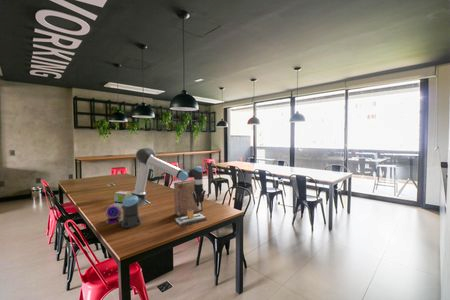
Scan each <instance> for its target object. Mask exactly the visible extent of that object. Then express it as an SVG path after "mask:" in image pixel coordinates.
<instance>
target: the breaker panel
mask: <svg viewBox="0 0 450 300" xmlns="http://www.w3.org/2000/svg"><path fill="white" fill-rule="evenodd" d="M198 213H199V212H198ZM193 216H194V218H190V219H189V218H188V217H187V216H185V217H181V218H176V220H175V221H176V223H178V225H180V226H181V223H186V222H190V221H194V220H198V219H202V218H206V216H204V215H203V214H201V213H199V214H194V215H193Z"/></svg>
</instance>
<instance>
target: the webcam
mask: <svg viewBox="0 0 450 300" xmlns="http://www.w3.org/2000/svg"><path fill="white" fill-rule="evenodd" d="M121 215H123V207H121V206H120V205H118V204H114V203H112V204H109V206H107V208H106V209H105V216H106V217H107V219H106V220H105V223H106V224H115V223H120V222H122V220H123V216H121Z"/></svg>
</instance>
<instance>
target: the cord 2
mask: <svg viewBox="0 0 450 300" xmlns="http://www.w3.org/2000/svg"><path fill="white" fill-rule="evenodd" d="M204 221H207V217H205V218H202V219H198V220H194V221H190V222H186V223H181V225H180V226H181V227H184V226H187V225H192V224H196V223H200V222H204Z"/></svg>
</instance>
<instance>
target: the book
mask: <svg viewBox="0 0 450 300" xmlns="http://www.w3.org/2000/svg"><path fill="white" fill-rule="evenodd" d="M173 189H174V190H173V194H174V195H173V196H174V214H175V215H176V216H177V217H180V216H184V215H187V210H189V209H192V210H193V213H199V212H202V211H203V204H202V205H201V210H198V206H197V203H196V202H195V200H194V197H193V194H192V192H194V189H195V188H194V179H190V180H185V181H178V182H174V183H173ZM195 196H196V193H195ZM201 197H202V195H201ZM196 199H197V196H196Z"/></svg>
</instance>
